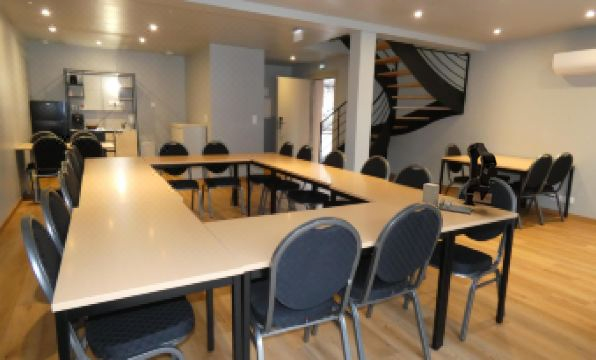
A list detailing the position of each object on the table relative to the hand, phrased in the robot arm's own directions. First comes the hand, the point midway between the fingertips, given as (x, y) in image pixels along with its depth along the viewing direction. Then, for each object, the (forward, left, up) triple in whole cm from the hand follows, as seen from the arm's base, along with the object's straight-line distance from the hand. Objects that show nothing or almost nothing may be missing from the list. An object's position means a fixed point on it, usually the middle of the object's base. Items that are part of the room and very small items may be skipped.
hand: (481, 199), depth 228 cm
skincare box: (+8, -29, -8) cm, 31 cm away
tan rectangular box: (0, 0, -1) cm, 1 cm away
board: (+4, -14, -8) cm, 17 cm away
